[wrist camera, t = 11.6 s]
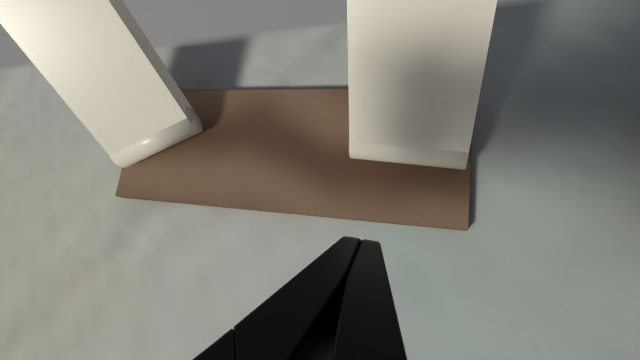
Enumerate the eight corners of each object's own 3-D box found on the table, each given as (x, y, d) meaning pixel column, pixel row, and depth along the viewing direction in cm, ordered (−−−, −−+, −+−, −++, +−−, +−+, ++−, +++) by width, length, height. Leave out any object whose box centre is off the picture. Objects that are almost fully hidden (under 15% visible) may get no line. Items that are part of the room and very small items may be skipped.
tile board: (466, 230, 19) (468, 229, 18) (122, 197, 25) (115, 196, 25) (471, 92, 20) (473, 87, 20) (146, 94, 27) (140, 90, 26)
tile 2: (464, 176, 18) (515, -96, 12) (349, 163, 20) (345, -79, 14) (463, 157, 19) (508, -90, 14) (357, 147, 21) (357, -75, 15)
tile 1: (198, 136, 23) (75, -48, 18) (121, 172, 24) (-15, 7, 19) (206, 125, 24) (97, -44, 20) (135, 159, 25) (14, 6, 21)
